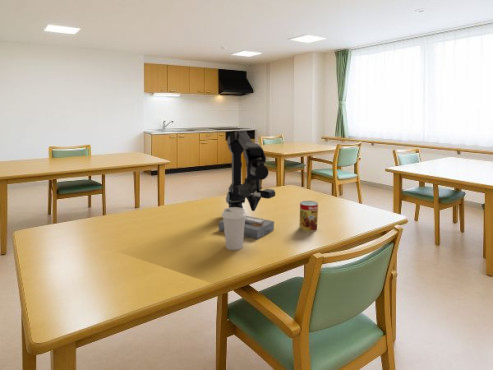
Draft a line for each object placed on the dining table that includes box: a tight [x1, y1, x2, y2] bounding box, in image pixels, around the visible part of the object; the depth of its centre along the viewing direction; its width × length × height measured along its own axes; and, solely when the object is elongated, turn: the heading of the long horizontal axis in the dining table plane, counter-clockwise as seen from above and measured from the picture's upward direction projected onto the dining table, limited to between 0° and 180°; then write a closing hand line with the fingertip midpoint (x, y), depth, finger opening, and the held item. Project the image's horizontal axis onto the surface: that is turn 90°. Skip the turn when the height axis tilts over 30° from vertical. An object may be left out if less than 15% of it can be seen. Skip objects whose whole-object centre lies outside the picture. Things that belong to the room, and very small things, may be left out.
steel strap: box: [245, 216, 264, 224], centre depth 162 cm, size 16×3×1 cm, turn 57°
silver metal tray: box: [218, 215, 275, 240], centre depth 162 cm, size 20×14×6 cm
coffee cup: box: [221, 207, 248, 251], centre depth 142 cm, size 10×10×15 cm
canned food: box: [299, 200, 319, 232], centre depth 164 cm, size 8×8×12 cm
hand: (253, 210), depth 159 cm, fingers closed
